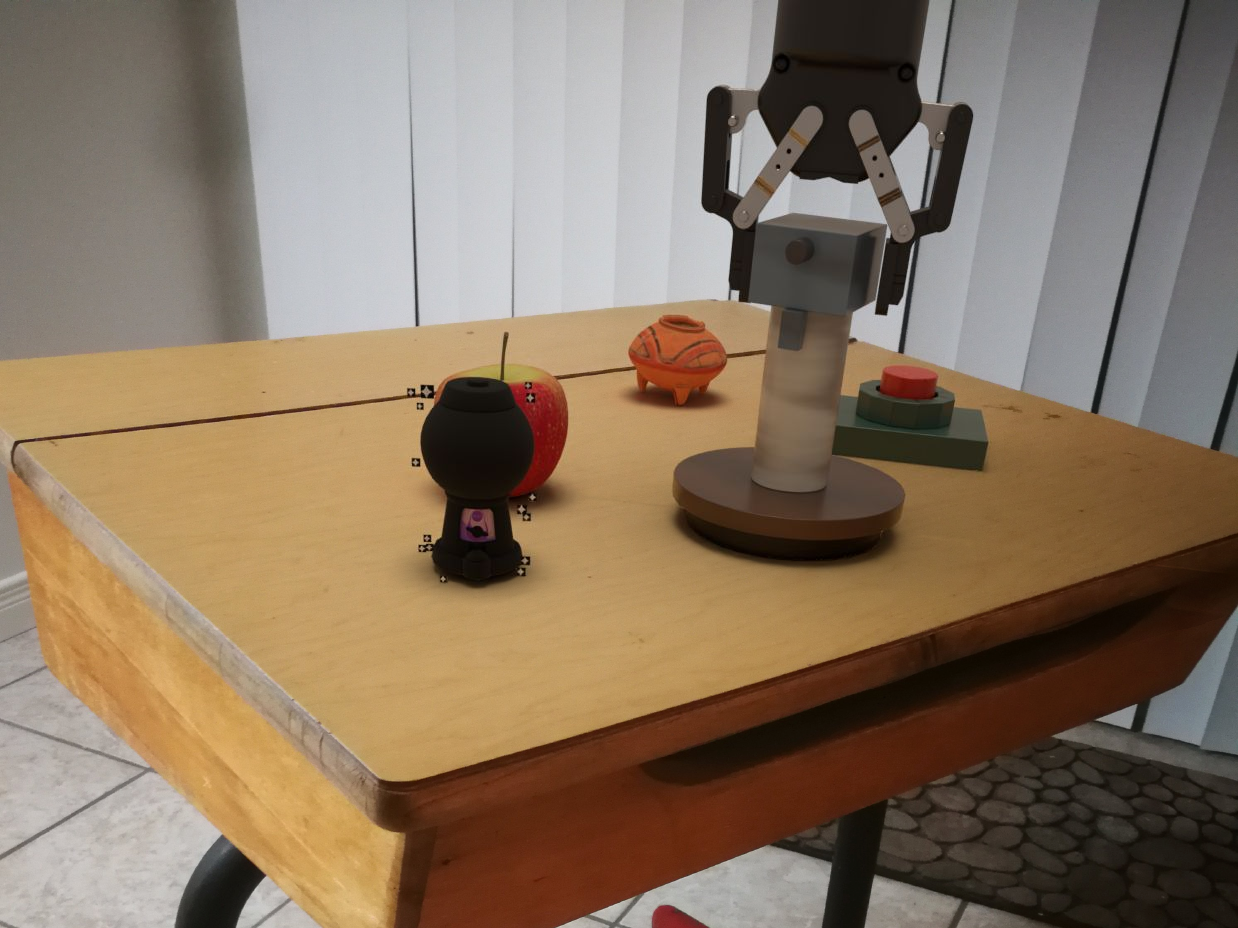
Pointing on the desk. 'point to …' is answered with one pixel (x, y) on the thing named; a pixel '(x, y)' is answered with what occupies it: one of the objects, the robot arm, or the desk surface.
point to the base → (781, 543)
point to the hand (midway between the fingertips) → (812, 306)
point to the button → (908, 382)
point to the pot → (677, 356)
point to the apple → (531, 413)
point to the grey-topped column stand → (800, 394)
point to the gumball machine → (477, 473)
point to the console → (910, 429)
